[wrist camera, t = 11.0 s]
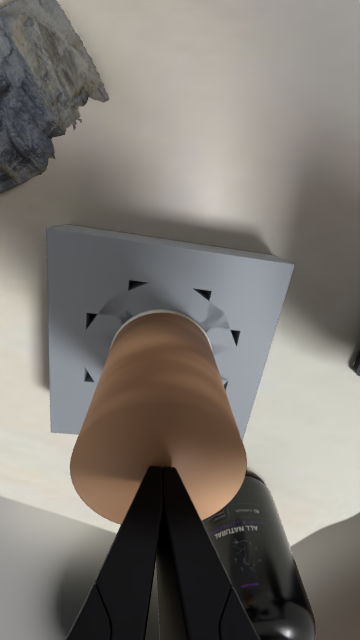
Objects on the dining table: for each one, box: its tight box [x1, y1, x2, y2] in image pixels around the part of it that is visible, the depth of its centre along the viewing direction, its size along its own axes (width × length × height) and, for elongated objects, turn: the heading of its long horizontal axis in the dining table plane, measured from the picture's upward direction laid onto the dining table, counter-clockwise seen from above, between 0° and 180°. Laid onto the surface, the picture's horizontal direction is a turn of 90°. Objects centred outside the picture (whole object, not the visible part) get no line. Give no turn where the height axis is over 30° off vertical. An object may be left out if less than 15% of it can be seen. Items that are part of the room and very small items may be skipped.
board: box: [46, 224, 295, 440], centre depth 17 cm, size 12×12×3 cm
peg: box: [70, 309, 247, 525], centre depth 14 cm, size 6×6×10 cm
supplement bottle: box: [201, 475, 316, 640], centre depth 19 cm, size 7×7×12 cm
